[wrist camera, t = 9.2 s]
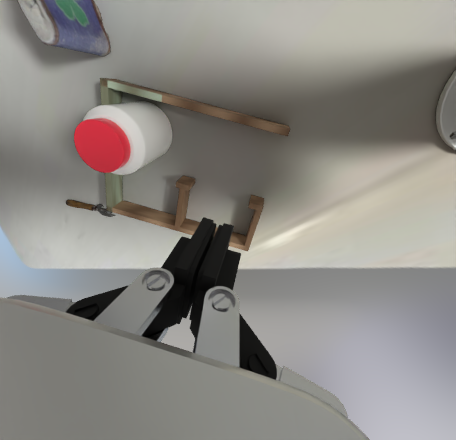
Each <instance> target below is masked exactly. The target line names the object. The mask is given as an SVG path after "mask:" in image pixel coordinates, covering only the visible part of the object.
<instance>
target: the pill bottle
mask: <svg viewBox="0 0 456 440" xmlns="http://www.w3.org/2000/svg"><path fill="white" fill-rule="evenodd" d="M74 142H75V146H76V149H77V152H78V153H79V155H80V157H81V158H82V159H83V161H84V162H85V163H86V164H87V165H89V166H90V167H91V168H93V169H95V170H97V171H99V172H104V173H113V174H118V175H127V174H131V173H133V172H135V171H137V170H139V169H140V168H142V167H144V166H145V165H147V164H149V163H150V162H152V161H154V160H155V159H157V158H159V157H160V156H162V155H164V154H165V153H166V152H167V151H168V149H169V148H170V146H171V143H172V127H171V124H170V121H169V120H168V118H167V116H166V115H165V113H164V112H163V111H162V110H161V109H160V108H159V107H157V106H156V105H154V104H152V103H149V102H144V101H140V102H129V103H119V104H109V105H100V106H97V107H94V108H93V109H91V110H90V111H89V112H88V113H87V114H86V115H85V117H84V119H83V121H82V122H81V123H80V124H79V125H78V126H77V128H76V130H75V134H74Z"/></svg>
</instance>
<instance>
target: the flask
mask: <svg viewBox="0 0 456 440" xmlns="http://www.w3.org/2000/svg"><path fill="white" fill-rule="evenodd" d="M17 1H18V3H19V5H20V7H21V9H22V11H23V12H24V14H25V16H26V18H27V19H28V21H29V23H30V25H31V27H32V28H33V30H34V31H35V33H36V35H37V36H38V38H39V39H40V40H41V41H42V42H43V43H45V44H46V45H51V46H56V47H62V48H67V49H72V50H76V51H81V52H86V53H91V54H96V55H99V56H105V55H107V54H109V53H110V41H109V36H108V34H107V33H106V32H105V29H104V26H103V22H102V17H101V13H100V12H99V9H98V6H96V4H95V3H94V1H93V0H17Z"/></svg>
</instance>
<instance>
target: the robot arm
mask: <svg viewBox="0 0 456 440" xmlns="http://www.w3.org/2000/svg"><path fill="white" fill-rule="evenodd" d="M436 124H437V130H438V132H439V134H440V137H441V138H442V139H443V141H444V142H445V143H446V144H447V145H448V146H450V147H451V148H452V149H454V150H456V70H455V71H454V73H453V74H452V76H451V77H450V79H449V80H448V82H447V83H446V85H445V87H444V89H443V91H442V93H441V95H440V98H439V102H438V105H437V111H436ZM233 227H234V226H232V225H228V224H225V223H224V224H223V226H222V225H219V227H218V229H217V231H216V234H215V229H216V224H215V223H213V220H211V219H207V218H203V219H202V221H201V222H200V224H199V226H198V227H197V229H196V231H195V232H194V234H193V236H192V238H191V239H189V238H186V237H181V238H180V240H179V241H178V243H177V244H176V246H175V247H174V249H173V251H172V252H171V254H170V255H169V257H168V258H167V260H166V261H165V263H164V264H163V266H162V267H161V268H150V269H148V270H145V271H144V272H143V273H141V274H140V275H139V276H138V277H137V278H136V279H135V280H134V281H133V282H132V283H131V284H130V285H129V286H125V287H122V288H118V289H115V290H112V291H108V292H105V293H102V294H98V295H95V296H92V297H88V298H84V299H82V300H79V301H77V302H72V300H71V299H61V298H50V297H49V298H48V297H37V296H26V295H15V296H11V297H8V298H0V440H369V438H368V437H367V436H366V435H365V434H364V433H363V432H362V431H361V430H360V429H359V428H358V427H357V426H356V425H355V424H354V423H353V422H352V421H351V420H350V419H348V416H347V412H346V410H345V408H344V406H343V404H342V403H341V402H340V400H339V399H338V398H337V397H336V396H334V395H333V394H332V393H330V392H329V391H327V390H325V389H323V388H322V387H320V386H318V385H316V384H315V383H313V382H311V381H309V380H308V379H306V378H304V377H302V376H301V375H299V374H297V373H295V372H294V371H292V370H290V369H288V368H287V367H285V366H283V368H281V367H279V366H278V365H276V364H275V362H274V360H273V359H272V357H271V356H270V354H269V353H268V351H267V350H266V349H265V347H264V346H263V345H262V343H261V342H260V340H259V339H258V338H257V336H256V335H255V334H254V332H253V331H252V330H251V328H250V327H249V326H248V324H247V323H246V321H245V320H244V319H243V317H242V316H241V315H240V313H239V298H238V296H237V295H236V293H235V292H234V291H233V286H234V282H235V278H236V273H237V269H238V265H239V261H240V256H241V253H238V252H234V251H231V250H228V247H229V243H230V239H231V235H232V231H233ZM214 234H215V236H214ZM191 306H192V308H191ZM190 308H191V314H190V320H191V326H190V329H191V331H192V333H193V335H194V337H195V342H194V348H193V352H189V351H186V350H183V349H180V348H177V347H173V346H170V345H167V344H164V343H161V341H162V339H163V338H164V336H165V335H166V333H167V331H168V327H171V326H173V325H175V324H176V323H177V324H180V322H181V319H182V317H183V318H186V317H187V316H188V313H189V311H190Z"/></svg>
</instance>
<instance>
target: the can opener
mask: <svg viewBox="0 0 456 440" xmlns="http://www.w3.org/2000/svg"><path fill="white" fill-rule="evenodd" d="M66 204H67V205H69V206H72V207H77V208H84V209H88V210H92V211H93V210H95V211H96V210H97V211H99V212H100V213H101V214H102V215H104V216H108V217H112V216H115V215H113V214H111V213H112V212H111V211H107V209H103V208H101V207H100V206H103V205H100V204H99V205H97V207H96V206H94V205H91V204H86V203H82V202H79V201H74V200H67V201H66ZM103 207H104V206H103ZM105 212H106V213H105Z"/></svg>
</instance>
